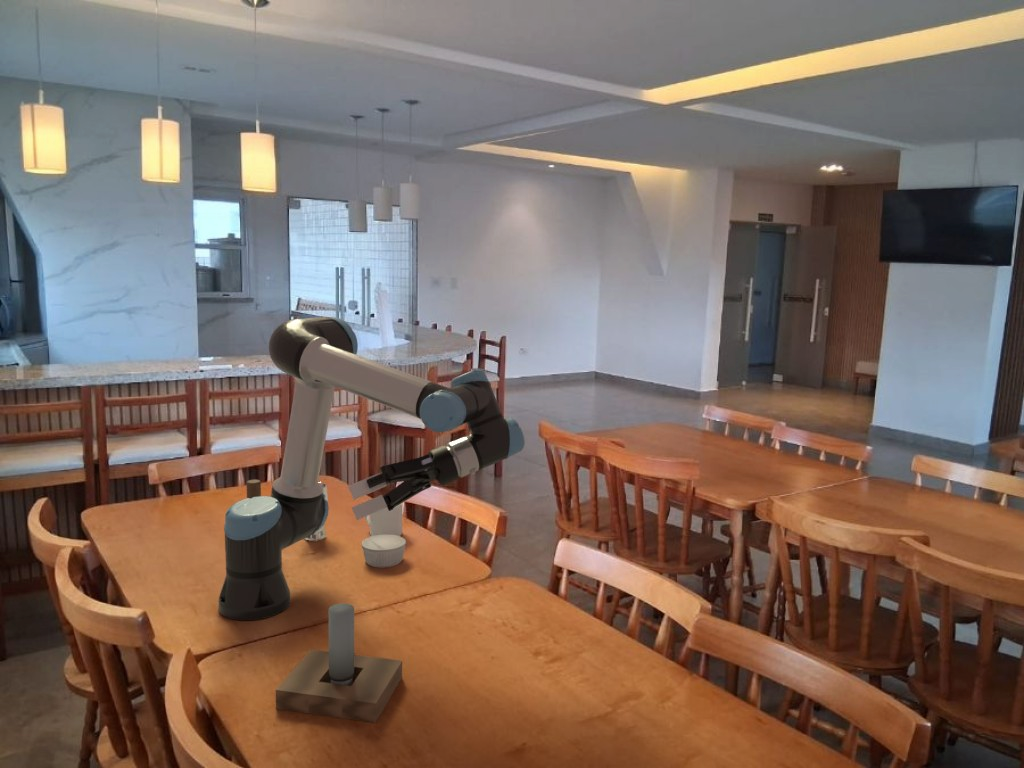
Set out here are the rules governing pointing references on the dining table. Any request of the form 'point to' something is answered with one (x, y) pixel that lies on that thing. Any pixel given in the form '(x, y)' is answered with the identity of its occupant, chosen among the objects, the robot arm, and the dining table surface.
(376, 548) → the ramekin
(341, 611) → the grey rounded cylinder
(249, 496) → the wooden block
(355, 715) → the board
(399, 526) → the mug
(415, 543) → the dining table surface
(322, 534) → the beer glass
